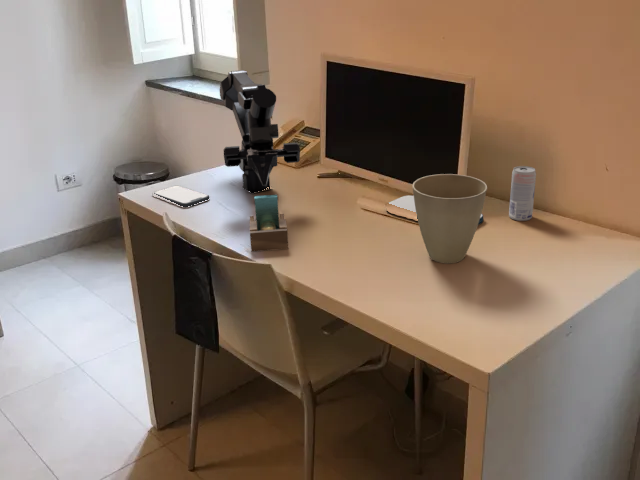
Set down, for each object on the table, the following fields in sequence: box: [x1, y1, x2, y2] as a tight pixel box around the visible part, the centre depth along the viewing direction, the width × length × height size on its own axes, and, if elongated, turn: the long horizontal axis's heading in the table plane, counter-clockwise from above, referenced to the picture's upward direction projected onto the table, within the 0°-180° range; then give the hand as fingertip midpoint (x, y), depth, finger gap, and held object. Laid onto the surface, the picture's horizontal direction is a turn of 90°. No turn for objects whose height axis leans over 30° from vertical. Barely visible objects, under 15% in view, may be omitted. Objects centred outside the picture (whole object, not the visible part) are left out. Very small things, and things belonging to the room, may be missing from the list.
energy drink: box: [508, 165, 537, 222], centre depth 161 cm, size 5×5×12 cm
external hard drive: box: [388, 195, 484, 226], centre depth 166 cm, size 24×12×2 cm, turn 47°
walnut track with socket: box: [249, 213, 289, 252], centre depth 158 cm, size 17×8×4 cm, turn 6°
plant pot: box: [412, 173, 488, 264], centre depth 141 cm, size 15×15×16 cm
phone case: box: [153, 185, 210, 207], centre depth 185 cm, size 9×2×16 cm
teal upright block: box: [253, 194, 280, 231], centre depth 154 cm, size 8×5×9 cm, turn 6°
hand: (264, 185), depth 167 cm, fingers closed
